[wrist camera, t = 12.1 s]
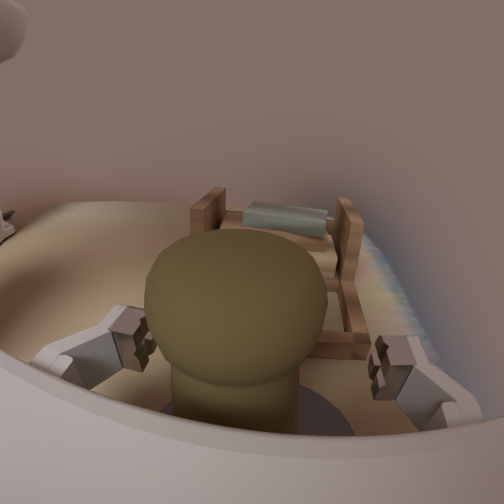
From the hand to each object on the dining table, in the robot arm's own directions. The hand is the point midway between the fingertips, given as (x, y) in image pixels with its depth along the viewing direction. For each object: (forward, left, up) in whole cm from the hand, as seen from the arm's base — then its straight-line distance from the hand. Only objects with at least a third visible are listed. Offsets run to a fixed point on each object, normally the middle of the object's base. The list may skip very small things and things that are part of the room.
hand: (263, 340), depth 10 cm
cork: (0, -1, -7) cm, 7 cm away
